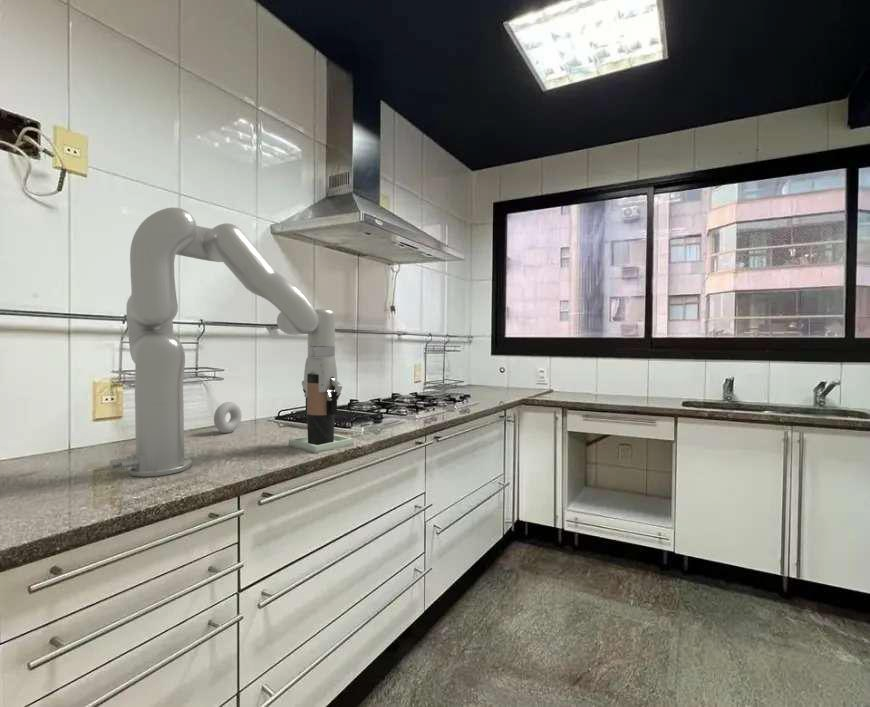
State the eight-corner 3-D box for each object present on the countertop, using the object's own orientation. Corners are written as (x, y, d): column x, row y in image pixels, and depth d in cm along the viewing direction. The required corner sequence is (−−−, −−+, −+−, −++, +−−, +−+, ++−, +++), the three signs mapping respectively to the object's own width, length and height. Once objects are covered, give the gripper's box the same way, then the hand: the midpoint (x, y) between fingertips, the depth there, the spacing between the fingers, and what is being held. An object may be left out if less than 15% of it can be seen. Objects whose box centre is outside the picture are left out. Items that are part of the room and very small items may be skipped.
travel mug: (327, 447, 125) (327, 374, 124) (302, 445, 126) (302, 374, 126) (338, 441, 132) (338, 372, 132) (314, 439, 134) (314, 372, 133)
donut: (236, 429, 151) (235, 399, 151) (244, 430, 150) (243, 400, 150) (211, 435, 142) (211, 403, 142) (219, 436, 141) (219, 404, 140)
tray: (316, 453, 120) (316, 446, 120) (288, 445, 129) (288, 439, 129) (353, 444, 130) (353, 438, 130) (326, 438, 139) (325, 432, 139)
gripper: (292, 352, 131) (292, 410, 132) (329, 353, 120) (329, 417, 121) (314, 352, 137) (313, 408, 138) (351, 353, 126) (351, 414, 127)
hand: (321, 412), depth 129 cm, fingers open, 9 cm apart
